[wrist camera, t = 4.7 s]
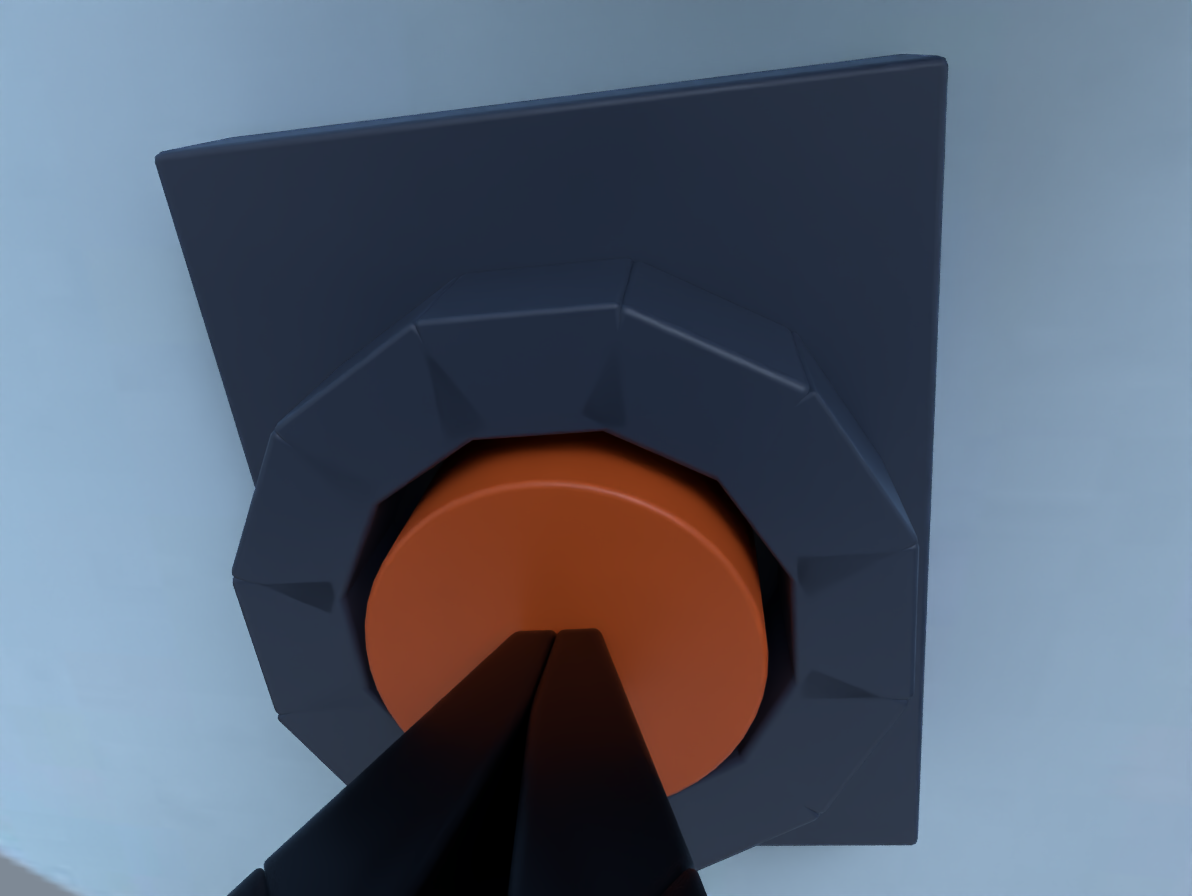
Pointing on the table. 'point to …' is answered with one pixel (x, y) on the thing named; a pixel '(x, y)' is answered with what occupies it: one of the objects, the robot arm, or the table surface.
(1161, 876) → the table surface
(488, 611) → the button
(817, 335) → the control box
